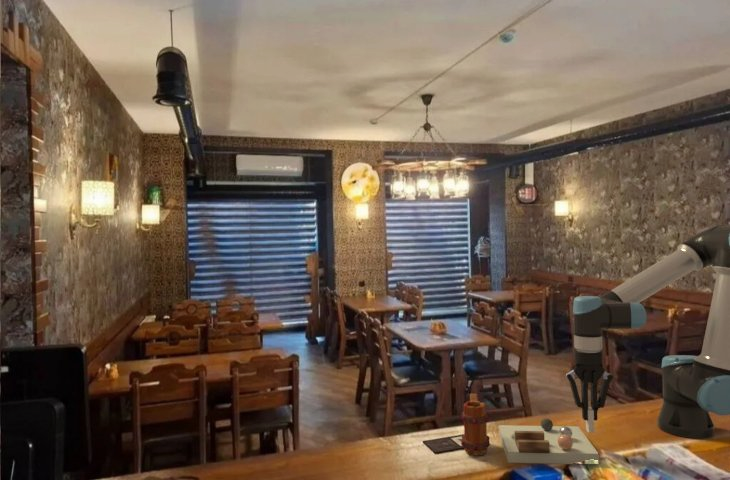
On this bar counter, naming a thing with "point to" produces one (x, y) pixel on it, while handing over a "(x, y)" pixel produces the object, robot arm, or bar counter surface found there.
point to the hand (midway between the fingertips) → (590, 431)
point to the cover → (531, 442)
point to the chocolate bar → (445, 444)
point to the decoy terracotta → (565, 442)
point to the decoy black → (546, 424)
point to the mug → (475, 427)
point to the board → (557, 455)
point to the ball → (566, 431)
